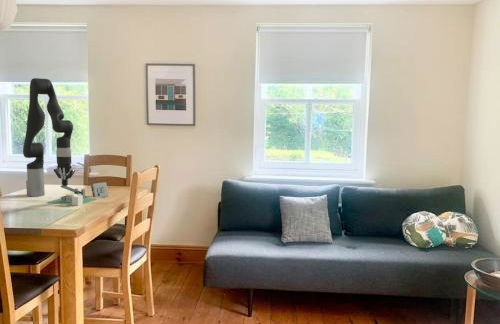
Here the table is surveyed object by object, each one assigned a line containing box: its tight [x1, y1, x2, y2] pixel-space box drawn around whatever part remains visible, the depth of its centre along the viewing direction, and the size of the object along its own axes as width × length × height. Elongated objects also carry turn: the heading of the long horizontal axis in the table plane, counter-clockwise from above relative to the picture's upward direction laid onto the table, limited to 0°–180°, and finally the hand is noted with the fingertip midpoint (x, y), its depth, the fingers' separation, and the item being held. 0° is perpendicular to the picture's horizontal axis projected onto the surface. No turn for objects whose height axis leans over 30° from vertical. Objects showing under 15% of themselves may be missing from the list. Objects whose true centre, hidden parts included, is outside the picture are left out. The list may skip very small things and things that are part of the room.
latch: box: [65, 193, 84, 207], centre depth 226 cm, size 8×4×6 cm, turn 76°
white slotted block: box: [60, 195, 84, 203], centre depth 234 cm, size 9×9×3 cm
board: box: [45, 187, 98, 206], centre depth 235 cm, size 22×19×7 cm
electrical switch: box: [90, 181, 109, 199], centre depth 252 cm, size 9×5×9 cm, turn 141°
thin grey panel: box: [60, 184, 81, 195], centre depth 234 cm, size 16×3×1 cm, turn 166°
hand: (64, 185), depth 228 cm, fingers closed
